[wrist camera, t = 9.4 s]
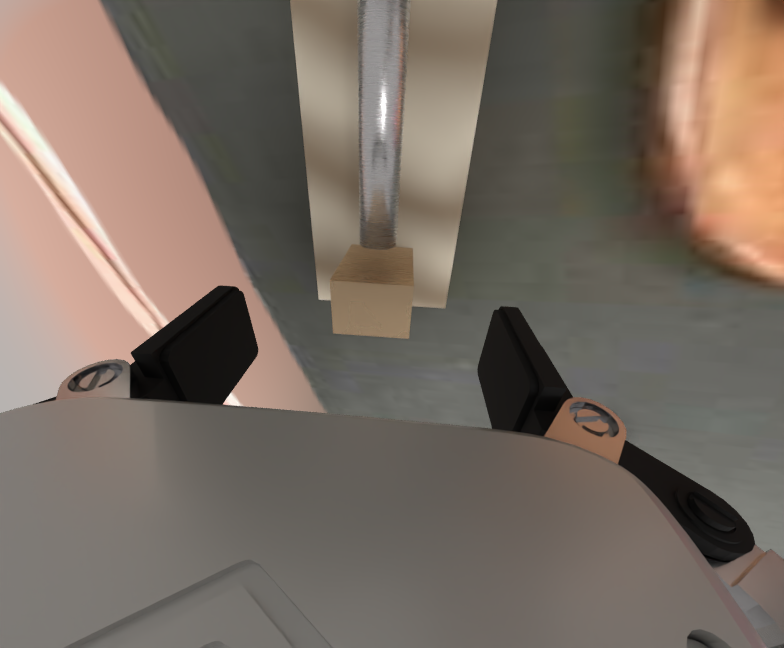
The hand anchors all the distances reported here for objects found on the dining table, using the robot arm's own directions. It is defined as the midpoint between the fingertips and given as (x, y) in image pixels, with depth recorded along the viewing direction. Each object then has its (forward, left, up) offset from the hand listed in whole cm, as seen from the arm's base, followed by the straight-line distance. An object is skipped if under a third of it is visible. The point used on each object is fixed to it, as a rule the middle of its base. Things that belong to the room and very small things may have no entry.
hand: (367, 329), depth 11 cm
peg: (-5, 0, -9) cm, 11 cm away
